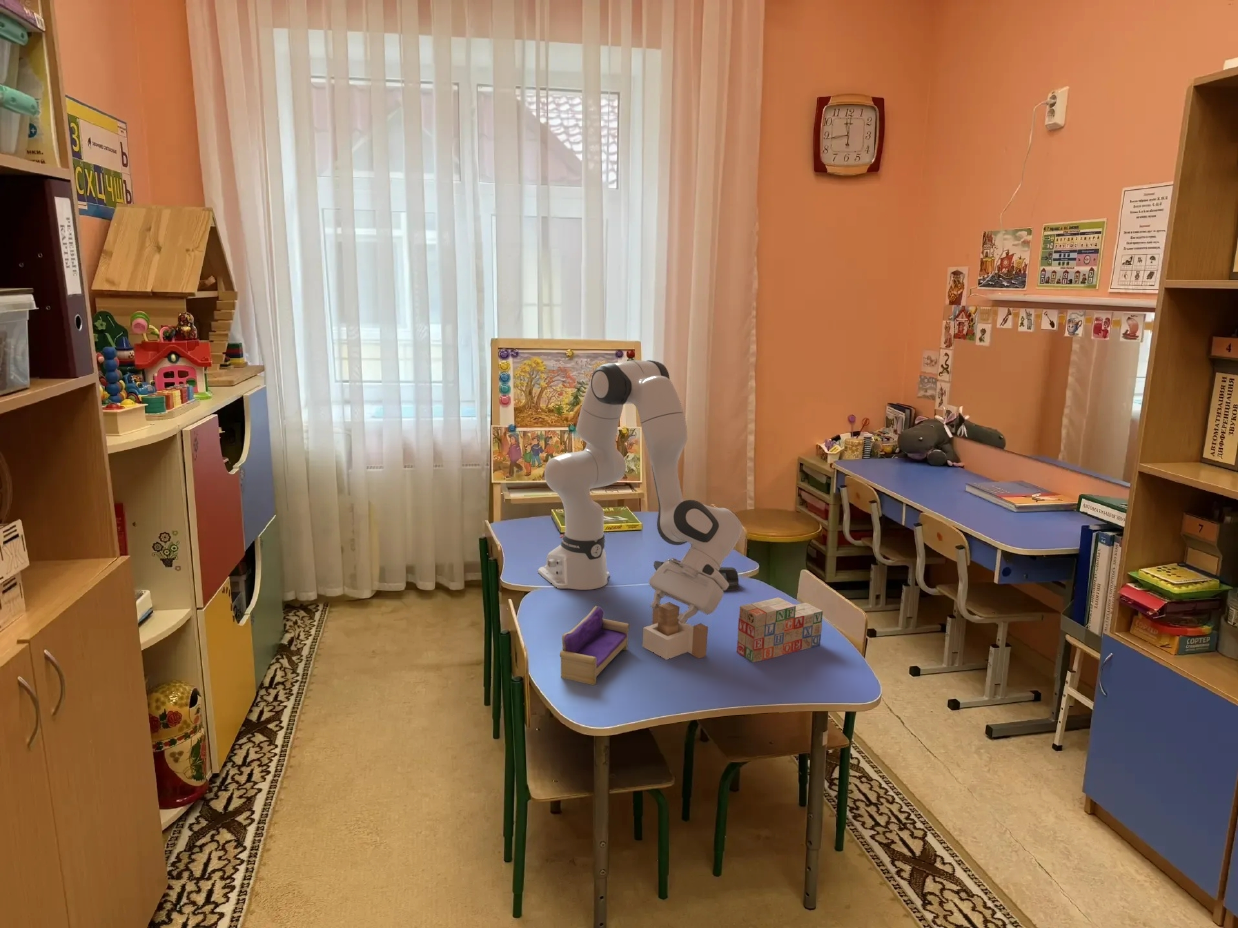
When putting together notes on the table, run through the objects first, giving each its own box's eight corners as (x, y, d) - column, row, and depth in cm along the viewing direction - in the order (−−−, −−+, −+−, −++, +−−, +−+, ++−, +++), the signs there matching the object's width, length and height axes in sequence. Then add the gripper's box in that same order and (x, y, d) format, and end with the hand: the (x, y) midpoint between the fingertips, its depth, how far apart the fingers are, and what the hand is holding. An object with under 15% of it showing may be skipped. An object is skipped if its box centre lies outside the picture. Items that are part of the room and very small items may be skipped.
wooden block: (655, 647, 202) (657, 605, 199) (667, 643, 204) (669, 601, 202) (666, 653, 199) (668, 610, 196) (678, 649, 201) (680, 606, 199)
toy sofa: (593, 687, 182) (595, 644, 180) (558, 679, 185) (559, 636, 183) (629, 649, 201) (631, 609, 198) (596, 642, 204) (597, 603, 202)
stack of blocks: (803, 636, 211) (807, 590, 209) (820, 645, 206) (825, 599, 203) (736, 652, 201) (739, 604, 198) (752, 663, 196) (755, 614, 193)
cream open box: (631, 640, 205) (632, 612, 203) (658, 631, 211) (660, 603, 209) (678, 666, 193) (680, 636, 191) (706, 655, 198) (707, 626, 197)
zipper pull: (651, 559, 244) (735, 558, 247) (651, 580, 245) (733, 579, 248) (656, 570, 235) (742, 569, 238) (655, 592, 237) (741, 591, 240)
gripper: (663, 549, 209) (632, 594, 205) (722, 573, 194) (690, 622, 190) (675, 562, 213) (644, 607, 209) (734, 587, 197) (702, 635, 193)
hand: (666, 614), depth 199 cm, fingers open, 8 cm apart
